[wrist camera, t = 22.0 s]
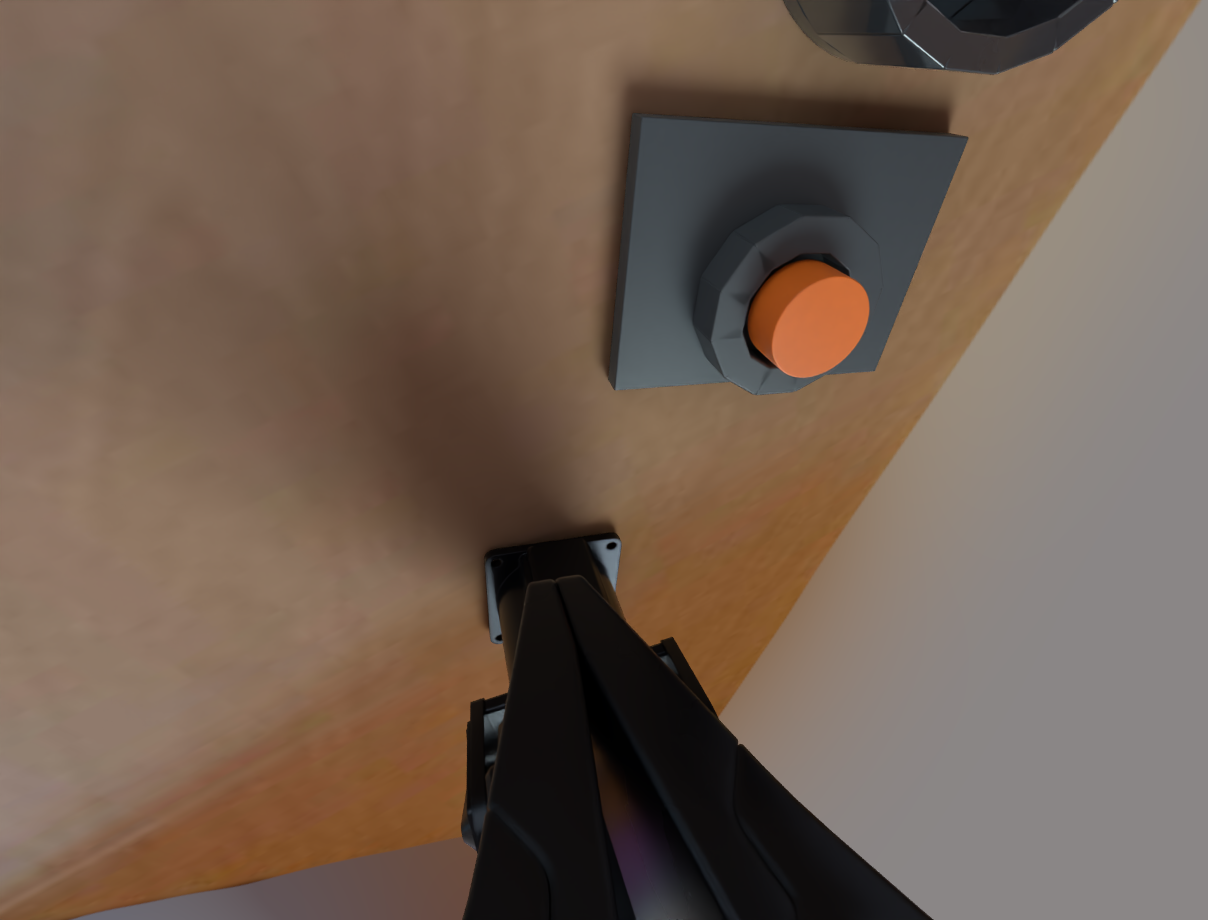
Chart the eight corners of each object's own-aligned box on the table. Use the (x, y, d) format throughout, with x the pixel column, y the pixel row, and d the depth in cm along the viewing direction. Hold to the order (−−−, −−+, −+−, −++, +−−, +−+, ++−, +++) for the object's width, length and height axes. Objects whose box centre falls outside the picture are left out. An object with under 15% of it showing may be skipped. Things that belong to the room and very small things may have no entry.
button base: (862, 362, 25) (899, 389, 23) (607, 379, 22) (627, 412, 20) (950, 133, 20) (1008, 143, 18) (632, 112, 17) (661, 123, 15)
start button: (820, 353, 22) (848, 374, 20) (737, 358, 21) (760, 381, 19) (852, 258, 19) (886, 275, 18) (760, 259, 18) (788, 277, 17)
